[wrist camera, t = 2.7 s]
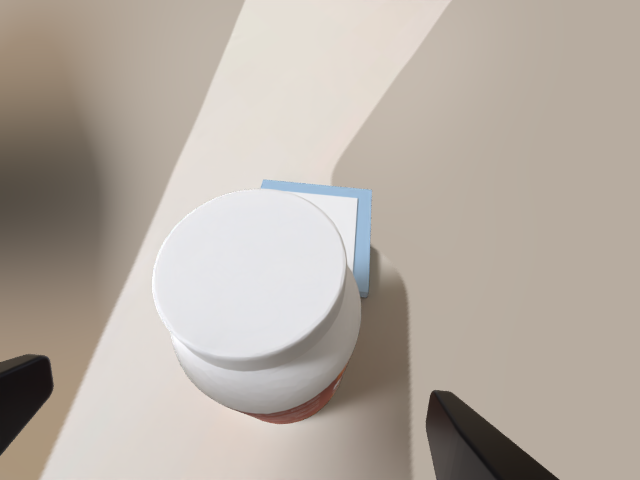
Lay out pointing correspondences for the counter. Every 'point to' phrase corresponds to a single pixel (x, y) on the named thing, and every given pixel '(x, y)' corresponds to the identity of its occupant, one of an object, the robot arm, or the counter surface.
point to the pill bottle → (259, 303)
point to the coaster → (341, 220)
